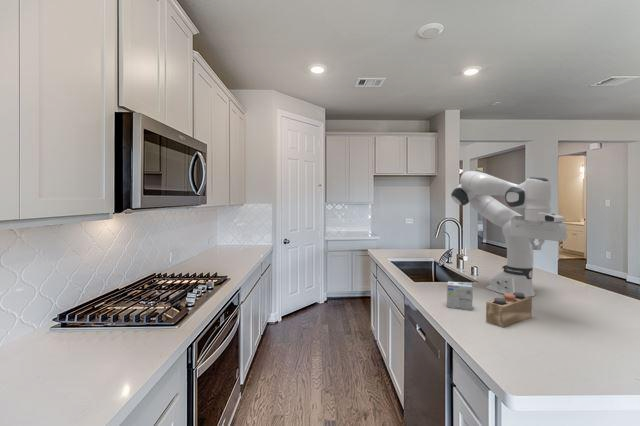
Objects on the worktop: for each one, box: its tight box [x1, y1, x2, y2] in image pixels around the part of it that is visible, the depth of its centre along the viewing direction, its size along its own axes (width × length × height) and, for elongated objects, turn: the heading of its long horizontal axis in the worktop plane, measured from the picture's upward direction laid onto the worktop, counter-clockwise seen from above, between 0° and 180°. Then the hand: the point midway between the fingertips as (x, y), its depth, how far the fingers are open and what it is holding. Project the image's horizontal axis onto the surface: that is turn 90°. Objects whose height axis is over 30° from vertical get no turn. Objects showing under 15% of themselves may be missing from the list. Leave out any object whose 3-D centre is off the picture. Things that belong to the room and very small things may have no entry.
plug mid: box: [503, 294, 515, 302], centre depth 132 cm, size 4×4×8 cm
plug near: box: [493, 297, 506, 305], centre depth 128 cm, size 4×4×8 cm
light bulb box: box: [446, 281, 473, 311], centre depth 148 cm, size 11×7×11 cm, turn 65°
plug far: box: [513, 292, 524, 300], centre depth 136 cm, size 4×4×8 cm
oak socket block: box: [485, 296, 533, 328], centre depth 132 cm, size 7×21×8 cm, turn 121°
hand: (536, 249), depth 133 cm, fingers closed
